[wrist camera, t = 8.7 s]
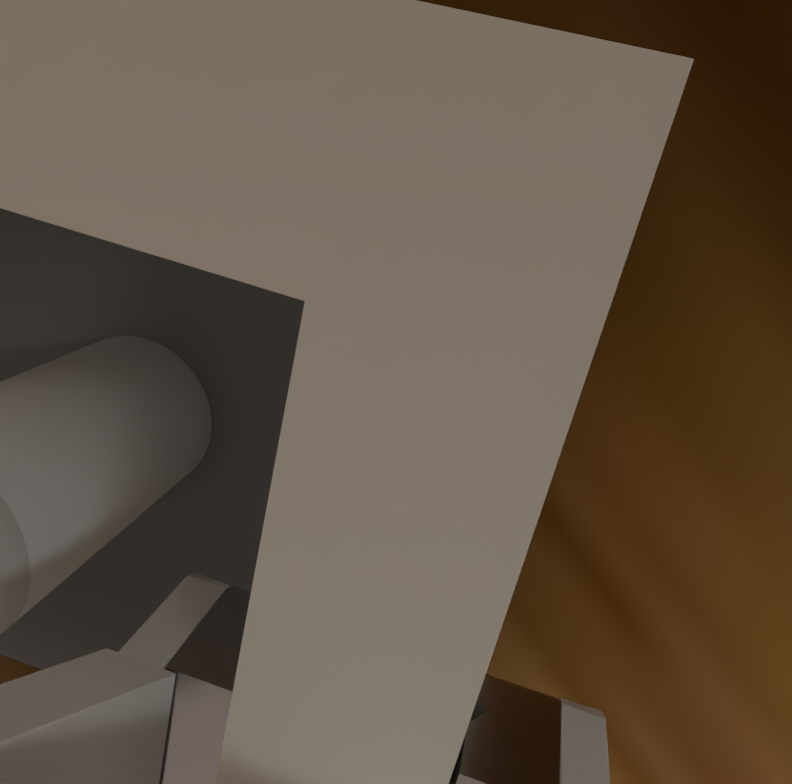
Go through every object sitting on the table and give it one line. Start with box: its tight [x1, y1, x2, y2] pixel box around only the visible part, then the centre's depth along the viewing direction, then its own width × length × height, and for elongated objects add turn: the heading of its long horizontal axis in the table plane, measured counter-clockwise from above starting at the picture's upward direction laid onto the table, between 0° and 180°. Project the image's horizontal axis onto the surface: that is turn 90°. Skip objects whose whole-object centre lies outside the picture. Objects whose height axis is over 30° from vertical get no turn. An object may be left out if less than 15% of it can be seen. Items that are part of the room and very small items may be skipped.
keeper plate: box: [0, 208, 305, 670], centre depth 12 cm, size 14×14×8 cm
